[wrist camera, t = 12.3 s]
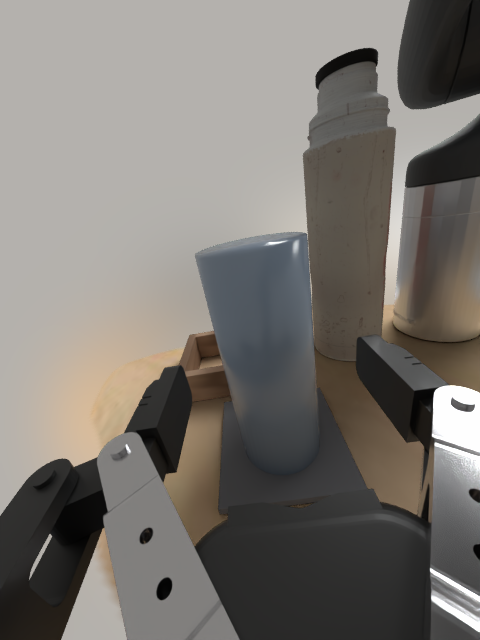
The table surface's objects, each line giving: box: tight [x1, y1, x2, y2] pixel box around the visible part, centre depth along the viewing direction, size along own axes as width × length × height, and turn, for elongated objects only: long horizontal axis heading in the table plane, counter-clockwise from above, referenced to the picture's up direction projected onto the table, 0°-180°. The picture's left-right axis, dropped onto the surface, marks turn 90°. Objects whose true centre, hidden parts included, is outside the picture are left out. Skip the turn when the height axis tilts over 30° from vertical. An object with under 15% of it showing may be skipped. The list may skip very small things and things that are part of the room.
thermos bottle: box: [303, 48, 396, 361], centre depth 26 cm, size 8×8×28 cm
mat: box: [218, 388, 368, 514], centre depth 21 cm, size 10×10×1 cm
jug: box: [195, 232, 320, 475], centre depth 18 cm, size 6×9×16 cm
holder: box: [179, 331, 231, 402], centre depth 31 cm, size 10×10×4 cm
